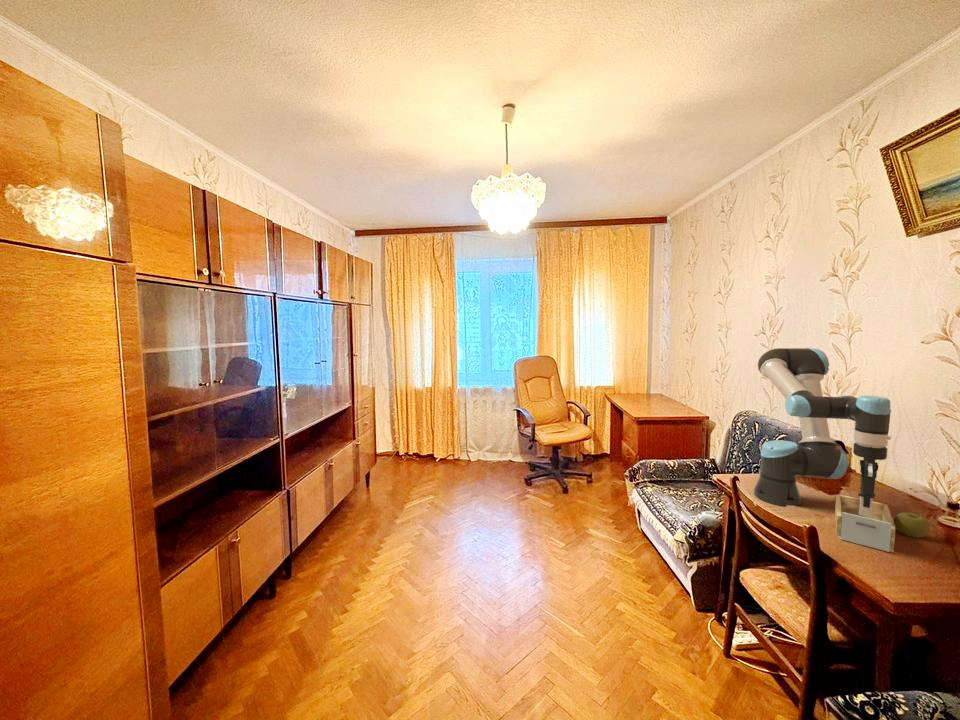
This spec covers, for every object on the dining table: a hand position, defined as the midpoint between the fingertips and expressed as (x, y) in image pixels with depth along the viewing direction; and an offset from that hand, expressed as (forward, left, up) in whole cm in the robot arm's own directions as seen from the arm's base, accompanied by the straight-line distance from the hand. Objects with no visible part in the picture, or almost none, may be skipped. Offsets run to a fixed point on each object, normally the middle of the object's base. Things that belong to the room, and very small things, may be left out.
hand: (865, 515), depth 123 cm
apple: (+12, +15, -9) cm, 21 cm away
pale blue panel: (0, -5, -8) cm, 9 cm away
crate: (0, +7, -9) cm, 11 cm away
